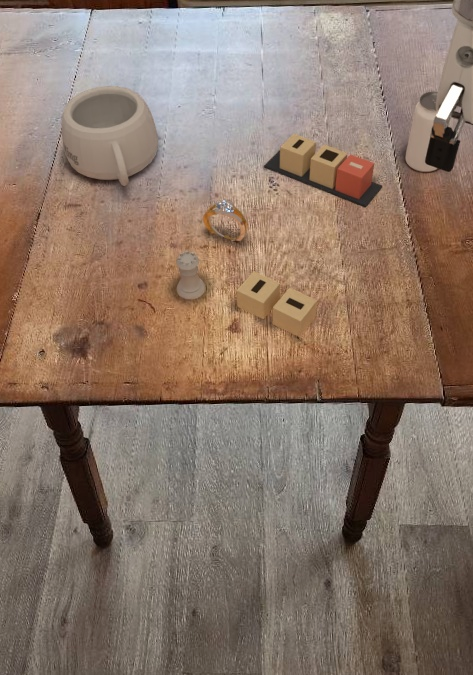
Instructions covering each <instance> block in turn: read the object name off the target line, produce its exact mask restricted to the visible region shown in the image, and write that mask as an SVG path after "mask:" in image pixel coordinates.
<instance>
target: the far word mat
mask: <svg viewBox="0 0 473 675" xmlns="http://www.w3.org/2000/svg"><path fill="white" fill-rule="evenodd" d="M316 148H317V141H316V140H313V139H310V138H308V137H304V136H302V135H299V134H297V133H293V134H292V135H291V136H289V138H288V139H286V140H285V141H284V143H283V144H282V145H281V146H280V147H279V150H278V151H277V152H276V153H275V154H274V155H273V156H272V157H270V159H269V160H268V161H267V162H266V163H265V164H264V165H263V168H265V169H267V170H270V171H272V172H274V173H277V174H280V175H282V176H285V177H287V178H290V179H293V180H295V181H297V182H299V183H302V184H304V185H305V184H306V185H308V186H311V187H313V188H315V189H318V190H321V191H323V192H326V193H329V194H331V195H333V196H336V197H338V198H340V199H343V200H345V201H347V202H350V203H352V204H353V203H354V204H356V205H358V206H361V207H363V208H367V206H369V205H370V203H371V202H372V201H373V199H375V197H376V196H377V194H378V193H379V192H380V191H381V189H383V185H381V184H380V183H376V182H374V181H372V182H371V185H370V187H369V188H368V189H367V190H366V191H365V193H364V194H363V195H362V196H361V197H360V199H356V198H354V197H351V196H349V195H346V194H344V193H341V192H339V191H336V190H335V187H336V177H337V169H338V168H339V166H340V165H341V164H342V163H343V162H344V161H345V160H346V159H347V158H348V152H345V151H343V150H340V149H337V148H335V147H332V146H329V145H327V144H323V145H322V146H321V147H320V148H319V149H318V150H317V151H316Z"/></svg>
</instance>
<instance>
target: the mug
mask: <svg viewBox="0 0 473 675" xmlns="http://www.w3.org/2000/svg"><path fill="white" fill-rule="evenodd" d="M61 141H62V147H63V152H64V154H65V157H66V158H67V161H68V162H69V164H70V166H71V168H73V170H75V171H76V172H77V173H79V174H81V175H82V176H84V177H88V178H91V179H95V180H101V181H113V180H118V181H119V183H120V184H121V186H124V187H126V186H127V185H129V177H131V176H133V175H136V174H137V173H139V172H141V171H142V170H144V169H145V168H146V167H147V166H149V165H150V164H151V163H152V162H153V160H154V159H155V157H156V155H157V152H158V147H159V137H158V131H157V127H156V123H155V120H154V117H153V114H152V112H151V110H150V107H149V105H148V104H147V102H146V101H145V99H144V98H143V97H142V96H141V95H140V94H139V93H138V92H136V91H135V90H132V89H130V88H128V87H124V86H116V85H105V86H97V87H94V88H90V89H86V90H84V91H82V92H80V93H77V94H76V95H74V96H73V97H71V98H70V100H69V101H68V102H67V103H66V105H65V106H64V109H63V112H62V114H61Z"/></svg>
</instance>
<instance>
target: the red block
mask: <svg viewBox="0 0 473 675" xmlns="http://www.w3.org/2000/svg"><path fill="white" fill-rule="evenodd" d="M374 170H375V162H372V161H370V160H367V159H365V158H362V157H359V156H356V155H353V154H349V155H347V159H346V160H345V161H344V162H343V163H342V164H341V165H340V166H339V168H338V169H337V177H336V187H335V190H336V191H339V192H341V193H344V194H346V195H349V196H351V197H354V198H356V199H360V197H361V196H362V195H363V194H364V193H365V191H366V190H367V189H368V188H369V187H370V185H371V182H373V175H374Z"/></svg>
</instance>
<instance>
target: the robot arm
mask: <svg viewBox="0 0 473 675" xmlns="http://www.w3.org/2000/svg"><path fill="white" fill-rule="evenodd" d="M451 12H452V14H453V16H454V18H456V19H457V21H456V23H455V27H454V30H453V33H452V37H451V38H450V43H449V47H448V50H447V54H446V57H445V62H444V65H443V69H442V72H441V77H440V81H439V85H438V90H437V91H438V94H437V99H436V110H437V114H436V116H435V118H434V121H433V126H432V130H431V134H430V140H429V145H428V149H427V154H426V158H425V163H426V164H427V165H430V166H432V167H435V168H438V169H437V170H441V171H444V172H446V173H450V172H452V170H453V169H454V167H455V163H456V160H457V156H458V152H459V147H460V144H461V139H459V138H460V135H461V132H462V130H463V128H464V125H465V124H468V125H471V126H473V0H453V1H452V6H451ZM457 107H459V108H461V109H460V111H456V109H457ZM451 118H454V120H457V122H456V124H455V127H454V129H452V128H451V127H448V126H449V123H450V119H451Z"/></svg>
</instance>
